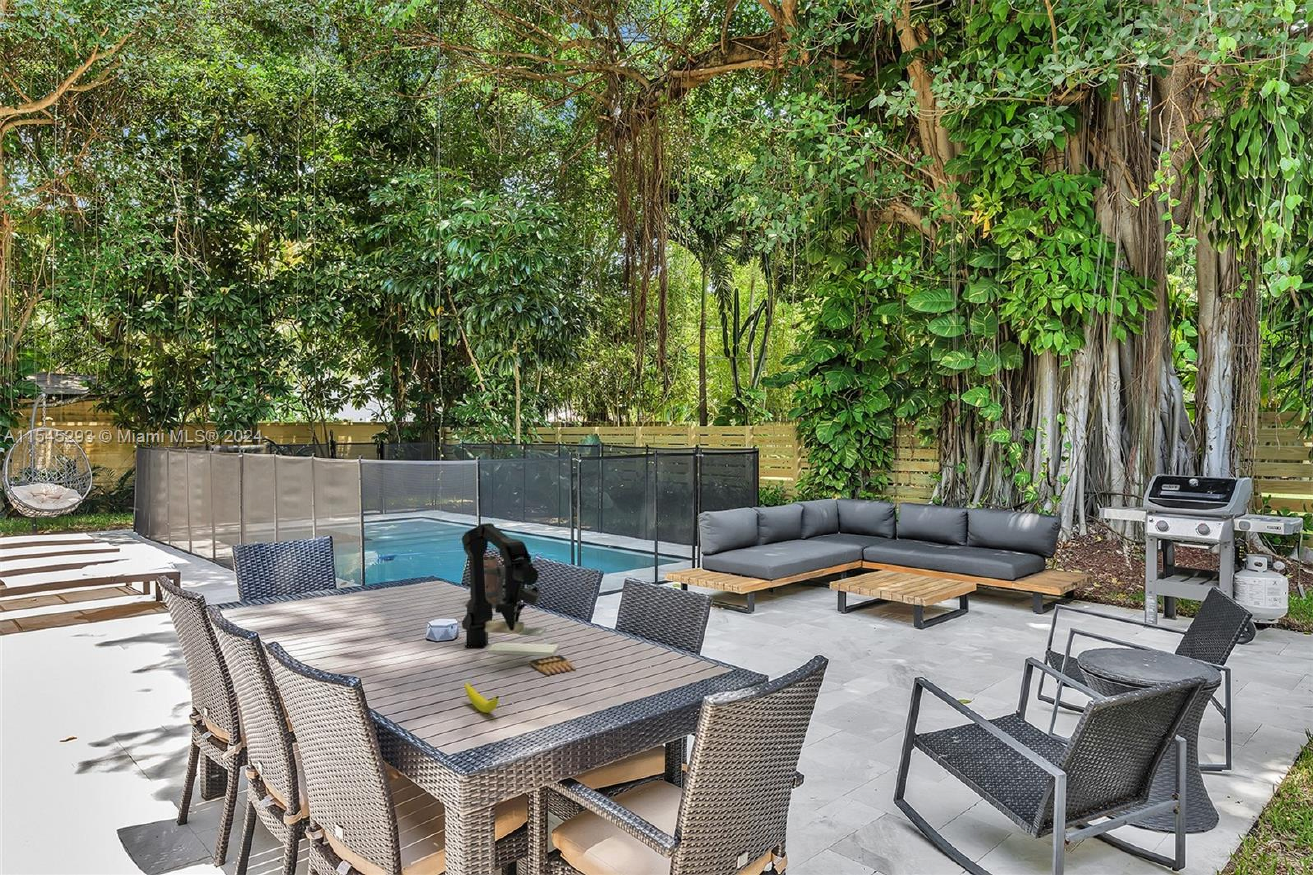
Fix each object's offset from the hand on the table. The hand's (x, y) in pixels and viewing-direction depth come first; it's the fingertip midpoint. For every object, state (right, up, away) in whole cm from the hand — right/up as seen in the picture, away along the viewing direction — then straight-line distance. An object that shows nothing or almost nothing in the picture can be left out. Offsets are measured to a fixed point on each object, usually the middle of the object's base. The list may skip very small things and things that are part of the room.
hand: (513, 629), depth 247 cm
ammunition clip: (+10, -10, -2) cm, 14 cm away
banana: (-1, -12, -42) cm, 43 cm away
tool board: (+1, -11, +12) cm, 16 cm away
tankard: (-24, -10, +77) cm, 81 cm away
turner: (+1, -1, 0) cm, 1 cm away
